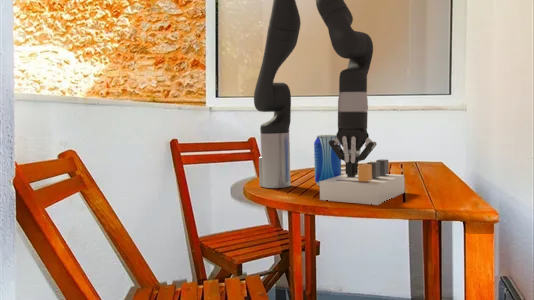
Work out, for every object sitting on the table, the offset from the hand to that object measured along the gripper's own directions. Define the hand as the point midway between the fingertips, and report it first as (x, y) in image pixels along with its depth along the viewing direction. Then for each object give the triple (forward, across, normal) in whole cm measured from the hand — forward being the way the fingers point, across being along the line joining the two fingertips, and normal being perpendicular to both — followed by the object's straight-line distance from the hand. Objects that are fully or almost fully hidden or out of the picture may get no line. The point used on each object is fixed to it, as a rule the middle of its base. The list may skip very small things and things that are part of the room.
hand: (351, 176), depth 119 cm
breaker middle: (+1, +3, +7) cm, 8 cm away
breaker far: (+1, +3, +13) cm, 14 cm away
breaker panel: (+6, 0, +7) cm, 9 cm away
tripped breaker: (+1, +4, 0) cm, 4 cm away
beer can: (+7, -18, +21) cm, 28 cm away
